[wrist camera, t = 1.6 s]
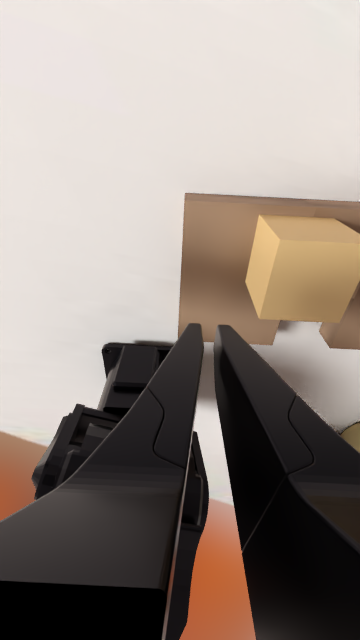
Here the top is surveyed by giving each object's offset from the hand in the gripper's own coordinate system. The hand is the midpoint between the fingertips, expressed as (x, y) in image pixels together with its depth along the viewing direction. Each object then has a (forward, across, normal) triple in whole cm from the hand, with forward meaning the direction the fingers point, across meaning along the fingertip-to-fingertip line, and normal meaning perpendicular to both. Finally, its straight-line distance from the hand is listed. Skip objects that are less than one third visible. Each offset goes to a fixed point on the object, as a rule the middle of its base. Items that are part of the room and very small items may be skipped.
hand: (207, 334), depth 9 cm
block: (+8, -5, 0) cm, 9 cm away
